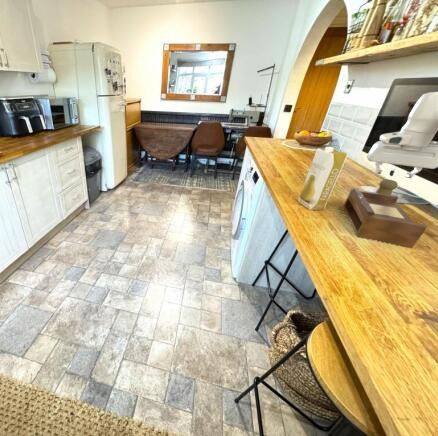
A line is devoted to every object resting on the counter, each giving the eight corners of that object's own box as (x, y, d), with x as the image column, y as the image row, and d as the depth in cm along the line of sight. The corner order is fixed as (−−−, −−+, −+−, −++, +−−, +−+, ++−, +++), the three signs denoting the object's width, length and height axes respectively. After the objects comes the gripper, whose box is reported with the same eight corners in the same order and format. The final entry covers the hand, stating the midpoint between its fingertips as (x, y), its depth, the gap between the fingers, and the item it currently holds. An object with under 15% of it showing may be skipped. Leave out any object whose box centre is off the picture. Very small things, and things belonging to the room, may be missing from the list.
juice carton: (294, 201, 103) (314, 144, 90) (311, 200, 103) (334, 144, 91) (309, 211, 95) (333, 151, 82) (327, 210, 95) (354, 150, 83)
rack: (386, 214, 93) (398, 193, 88) (411, 248, 74) (429, 224, 70) (342, 206, 98) (352, 186, 94) (357, 237, 80) (370, 213, 75)
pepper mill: (389, 209, 96) (404, 184, 91) (371, 207, 98) (384, 182, 92) (381, 203, 101) (395, 178, 96) (364, 200, 103) (377, 176, 97)
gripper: (447, 140, 84) (423, 177, 92) (375, 134, 92) (358, 168, 99) (458, 144, 80) (431, 183, 87) (381, 137, 87) (362, 173, 94)
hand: (392, 175), depth 93 cm, fingers open, 8 cm apart
